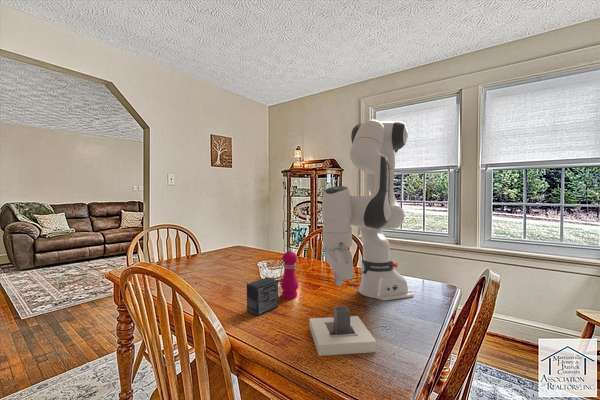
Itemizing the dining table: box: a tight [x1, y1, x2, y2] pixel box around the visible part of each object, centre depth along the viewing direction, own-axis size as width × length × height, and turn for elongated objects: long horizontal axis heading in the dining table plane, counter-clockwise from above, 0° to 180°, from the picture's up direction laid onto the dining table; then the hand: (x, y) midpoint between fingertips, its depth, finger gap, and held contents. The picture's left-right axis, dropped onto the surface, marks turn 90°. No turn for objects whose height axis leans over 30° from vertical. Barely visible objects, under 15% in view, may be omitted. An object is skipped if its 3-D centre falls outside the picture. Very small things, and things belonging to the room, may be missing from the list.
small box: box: [246, 277, 279, 317], centre depth 109 cm, size 11×6×10 cm, turn 141°
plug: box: [333, 305, 351, 335], centre depth 88 cm, size 4×4×9 cm
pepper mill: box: [280, 247, 299, 300], centre depth 122 cm, size 7×7×20 cm
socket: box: [309, 315, 377, 357], centre depth 88 cm, size 16×16×3 cm
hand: (338, 284), depth 91 cm, fingers closed
